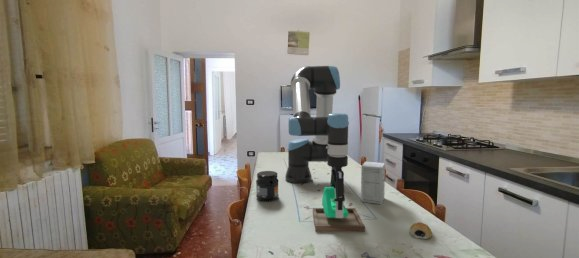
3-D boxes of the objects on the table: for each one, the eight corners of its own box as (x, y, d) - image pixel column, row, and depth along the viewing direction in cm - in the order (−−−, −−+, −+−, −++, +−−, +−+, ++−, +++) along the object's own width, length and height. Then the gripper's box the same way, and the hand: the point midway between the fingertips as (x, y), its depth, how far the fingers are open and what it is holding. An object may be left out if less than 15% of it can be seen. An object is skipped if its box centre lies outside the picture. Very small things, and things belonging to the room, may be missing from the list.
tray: (312, 212, 117) (312, 207, 117) (354, 212, 116) (355, 208, 116) (315, 231, 100) (315, 226, 100) (364, 231, 100) (364, 226, 100)
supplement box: (384, 197, 133) (385, 162, 131) (382, 204, 125) (383, 167, 123) (364, 195, 137) (364, 161, 135) (360, 201, 129) (361, 165, 127)
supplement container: (281, 195, 137) (281, 171, 136) (273, 203, 127) (273, 177, 126) (262, 193, 141) (261, 169, 139) (252, 200, 131) (251, 175, 129)
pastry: (411, 226, 105) (412, 216, 104) (432, 230, 101) (432, 220, 101) (409, 237, 96) (409, 226, 96) (431, 242, 93) (431, 231, 93)
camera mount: (348, 219, 102) (349, 192, 101) (327, 220, 102) (328, 192, 101) (340, 206, 114) (341, 182, 113) (322, 207, 114) (322, 182, 113)
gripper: (324, 148, 118) (323, 198, 120) (331, 162, 93) (330, 224, 96) (342, 148, 117) (341, 198, 120) (354, 162, 93) (353, 224, 96)
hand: (336, 210), depth 108 cm, fingers closed on camera mount, 12 cm apart
